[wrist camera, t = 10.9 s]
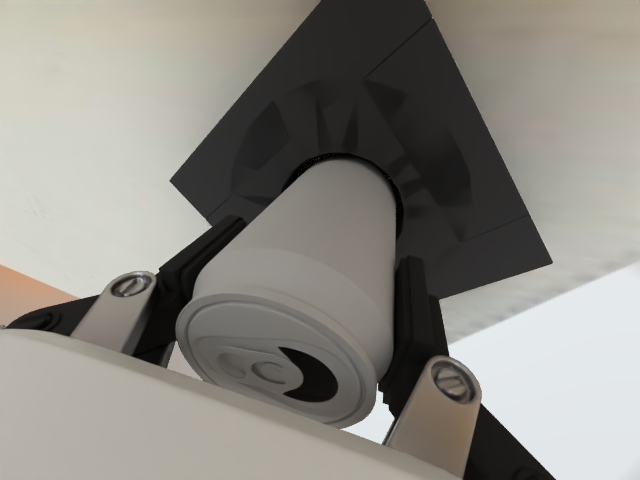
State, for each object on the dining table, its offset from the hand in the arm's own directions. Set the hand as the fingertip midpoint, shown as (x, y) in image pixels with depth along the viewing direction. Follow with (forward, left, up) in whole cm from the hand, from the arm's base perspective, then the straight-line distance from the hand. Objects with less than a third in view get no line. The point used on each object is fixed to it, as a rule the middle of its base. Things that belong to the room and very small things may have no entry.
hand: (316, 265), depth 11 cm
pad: (0, 0, -8) cm, 8 cm away
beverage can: (0, 0, -7) cm, 7 cm away
